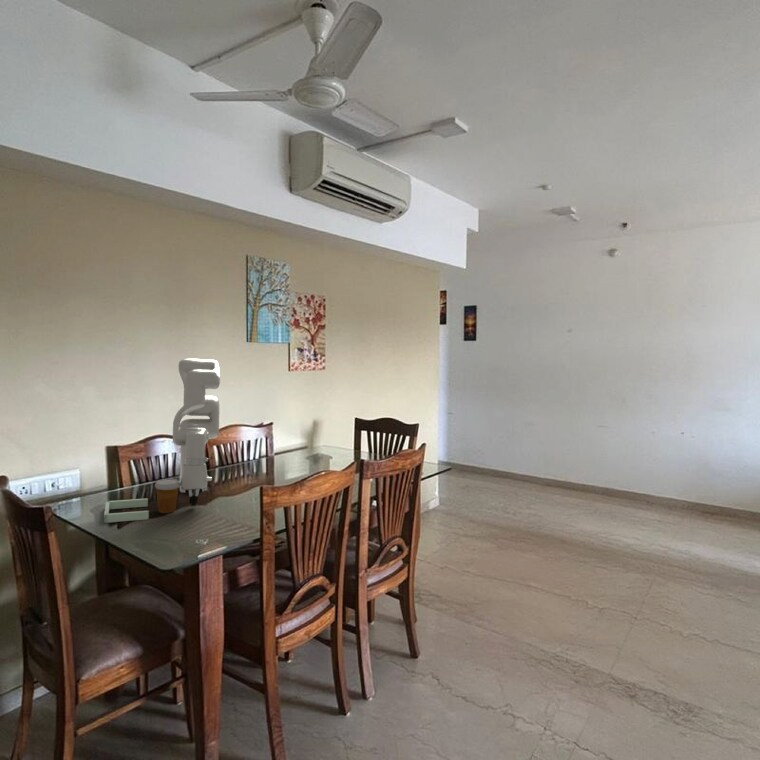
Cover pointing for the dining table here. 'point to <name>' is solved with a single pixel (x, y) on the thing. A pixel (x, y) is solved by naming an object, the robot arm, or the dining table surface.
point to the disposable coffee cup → (167, 494)
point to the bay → (125, 515)
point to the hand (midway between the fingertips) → (193, 505)
